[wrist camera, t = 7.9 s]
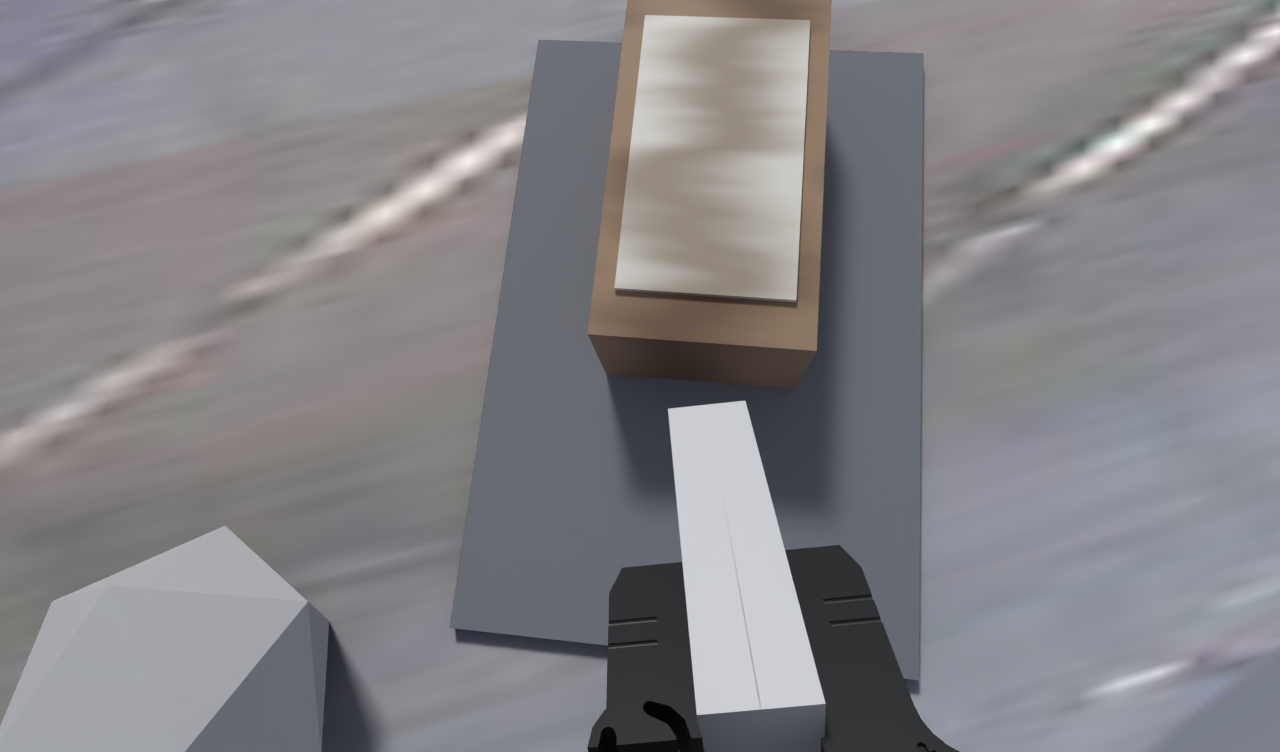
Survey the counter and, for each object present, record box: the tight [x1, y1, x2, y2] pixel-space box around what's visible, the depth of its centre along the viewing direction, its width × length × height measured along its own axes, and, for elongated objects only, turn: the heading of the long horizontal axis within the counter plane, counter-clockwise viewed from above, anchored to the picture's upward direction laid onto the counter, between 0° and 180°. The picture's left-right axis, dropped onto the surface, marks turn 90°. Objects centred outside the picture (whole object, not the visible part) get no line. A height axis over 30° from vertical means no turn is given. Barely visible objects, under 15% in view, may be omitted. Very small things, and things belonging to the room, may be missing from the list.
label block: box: [588, 0, 831, 389], centre depth 27 cm, size 7×5×13 cm
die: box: [0, 526, 329, 752], centre depth 23 cm, size 8×9×10 cm
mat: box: [450, 40, 923, 680], centre depth 28 cm, size 16×24×1 cm, turn 174°
